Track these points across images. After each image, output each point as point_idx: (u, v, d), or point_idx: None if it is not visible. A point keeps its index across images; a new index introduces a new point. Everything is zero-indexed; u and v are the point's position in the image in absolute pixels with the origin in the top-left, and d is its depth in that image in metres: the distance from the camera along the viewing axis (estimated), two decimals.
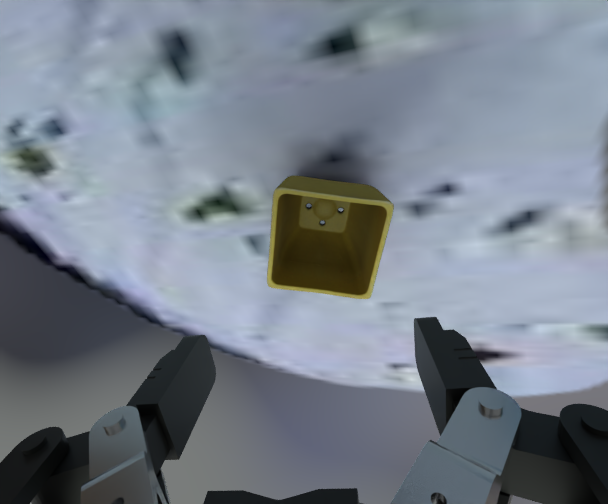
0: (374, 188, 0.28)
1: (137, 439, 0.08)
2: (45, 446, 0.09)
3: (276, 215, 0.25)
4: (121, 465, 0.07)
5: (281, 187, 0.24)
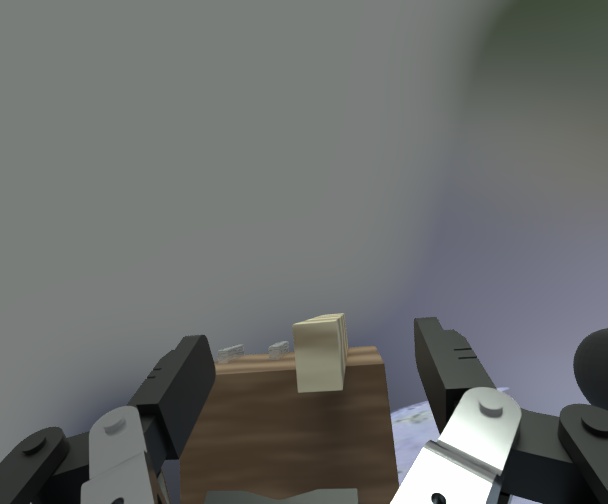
0: None
1: (137, 439, 0.08)
2: (45, 446, 0.09)
3: None
4: (121, 465, 0.07)
5: None
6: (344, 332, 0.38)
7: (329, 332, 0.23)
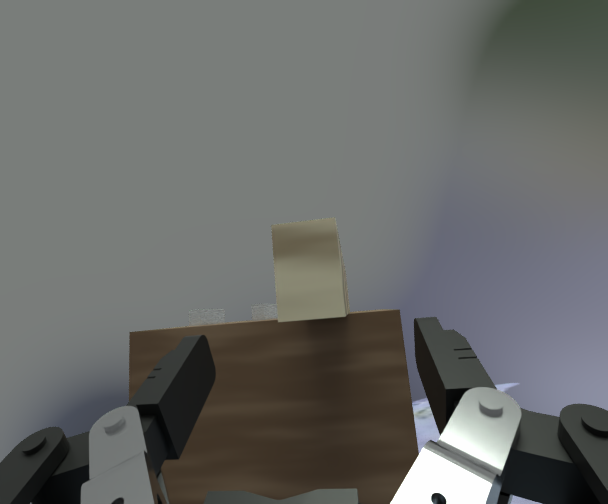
0: None
1: (137, 439, 0.08)
2: (45, 446, 0.09)
3: None
4: (121, 465, 0.07)
5: None
6: None
7: (325, 233, 0.15)
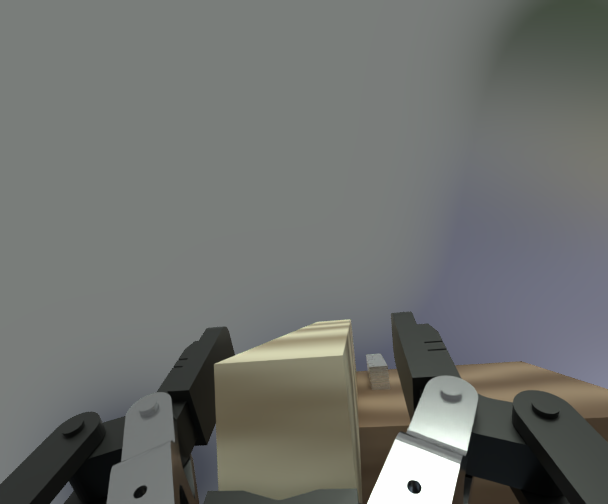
0: None
1: (173, 422, 0.09)
2: (84, 429, 0.09)
3: None
4: (148, 452, 0.07)
5: None
6: None
7: (323, 391, 0.07)
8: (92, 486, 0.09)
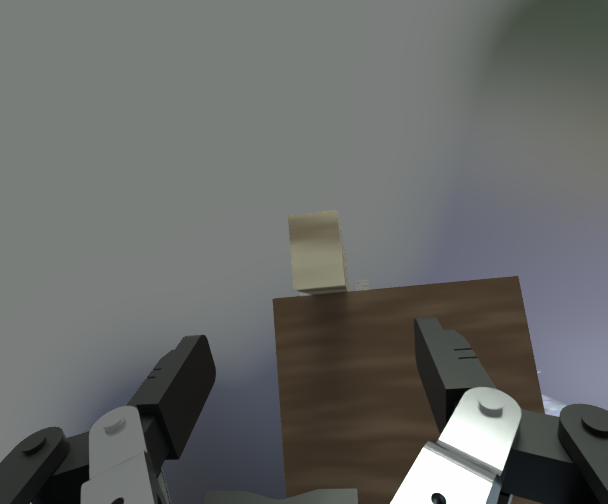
0: None
1: (137, 439, 0.08)
2: (45, 446, 0.09)
3: None
4: (121, 465, 0.07)
5: None
6: None
7: (330, 222, 0.20)
8: (58, 503, 0.09)
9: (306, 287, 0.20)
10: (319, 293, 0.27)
